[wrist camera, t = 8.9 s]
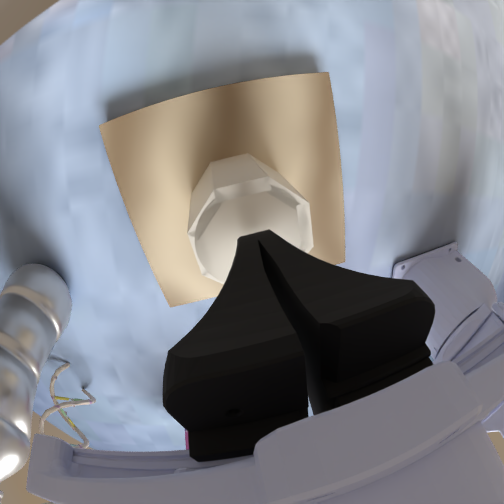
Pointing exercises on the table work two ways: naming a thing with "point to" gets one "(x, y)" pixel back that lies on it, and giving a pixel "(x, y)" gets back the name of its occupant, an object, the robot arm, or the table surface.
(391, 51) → the table surface
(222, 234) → the cap
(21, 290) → the plastic bottle
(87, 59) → the table surface
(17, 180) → the table surface
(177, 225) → the stud base
